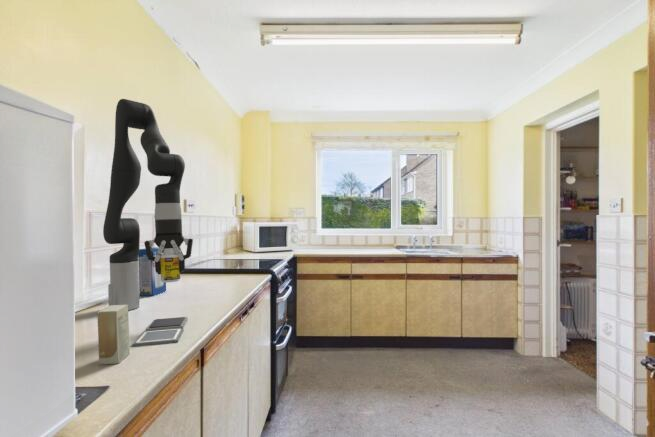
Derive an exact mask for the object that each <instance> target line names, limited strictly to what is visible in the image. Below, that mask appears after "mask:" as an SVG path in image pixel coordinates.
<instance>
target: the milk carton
mask: <svg viewBox="0 0 655 437" xmlns="http://www.w3.org/2000/svg"><path fill="white" fill-rule="evenodd" d="M158 250H159V247H158V246H157V247H155V246H153V247H152V251H153V255H154V256H155V257H156V255H157V252H158ZM138 274H139V297H151V296H153V297H156V296H158V294H159V295H161V294H164V293H166V292H167V282H162V281H161V274H158V272H157V273H156V271H155V262H154V261H152V260H148V256H147V252H146V248H145V247H144V248H139V255H138ZM165 291H166V292H165ZM163 292H164V293H163ZM160 293H161V294H160ZM155 295H156V296H155Z"/></svg>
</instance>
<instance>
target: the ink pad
mask: <svg viewBox="0 0 655 437" xmlns="http://www.w3.org/2000/svg"><path fill="white" fill-rule="evenodd" d="M187 322H188V316H180V317H166V318H156V319H153V320H152V321H151V322H150V324H149V325H148V326H147V327H146V328H145V332H146V331H157V330H169V329H184V328H185V326H186V324H187Z"/></svg>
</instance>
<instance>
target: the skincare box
mask: <svg viewBox="0 0 655 437" xmlns="http://www.w3.org/2000/svg"><path fill="white" fill-rule="evenodd" d="M129 322H130V321H129V310H128V305H110V306H109V305H108V306H106V307H104V308H103V309H101V310H99V311H97V331H98V332H97V336H98V337H97V339H98V341H97V342H98V360H99V361H98V362H99V364H98V365H117V364H119V363H122V361H123V360H124V359H126V358H127V357H128V356H129V355H130V350H131V348H130V325H129V324H130V323H129Z"/></svg>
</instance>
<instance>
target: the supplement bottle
mask: <svg viewBox="0 0 655 437" xmlns="http://www.w3.org/2000/svg"><path fill="white" fill-rule="evenodd" d="M179 261H180V259H179V257H178V255H177V253H176V252H175V250H174V248H166V249H163V255H161V257H160V266H161V281H162V282H166V283H174V282H175V283H176V282H179V281H180V280H181V273H180V270H179Z"/></svg>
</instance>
